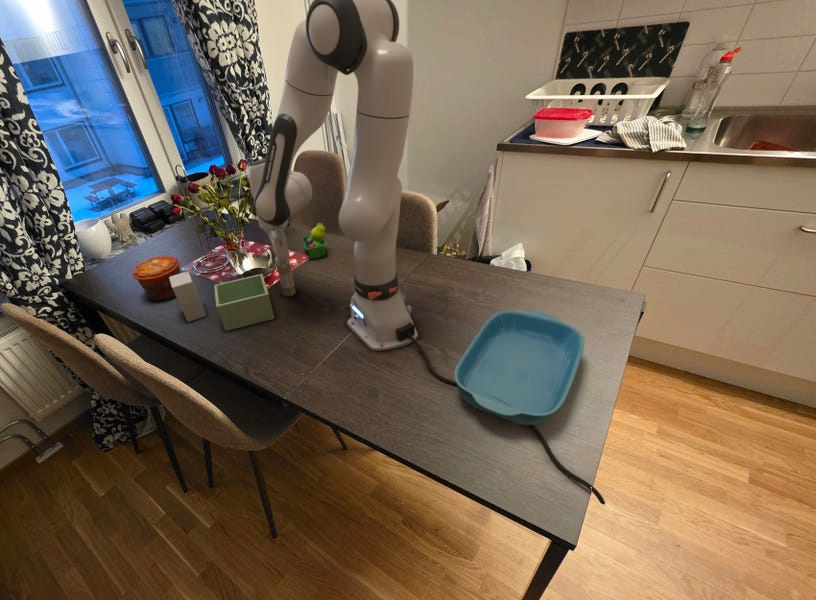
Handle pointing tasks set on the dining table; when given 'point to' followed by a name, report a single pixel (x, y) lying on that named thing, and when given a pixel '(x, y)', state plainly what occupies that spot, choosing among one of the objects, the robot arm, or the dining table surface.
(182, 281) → the small box
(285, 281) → the sprinkles bottle
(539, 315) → the casserole dish
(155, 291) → the food container
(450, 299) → the dining table surface
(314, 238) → the fruit basket
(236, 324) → the bin
